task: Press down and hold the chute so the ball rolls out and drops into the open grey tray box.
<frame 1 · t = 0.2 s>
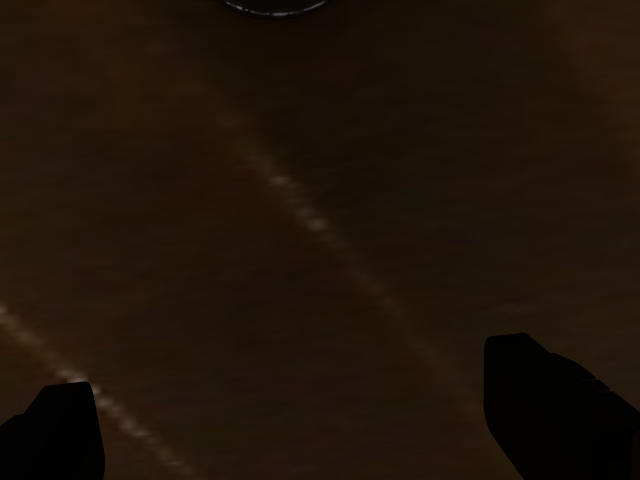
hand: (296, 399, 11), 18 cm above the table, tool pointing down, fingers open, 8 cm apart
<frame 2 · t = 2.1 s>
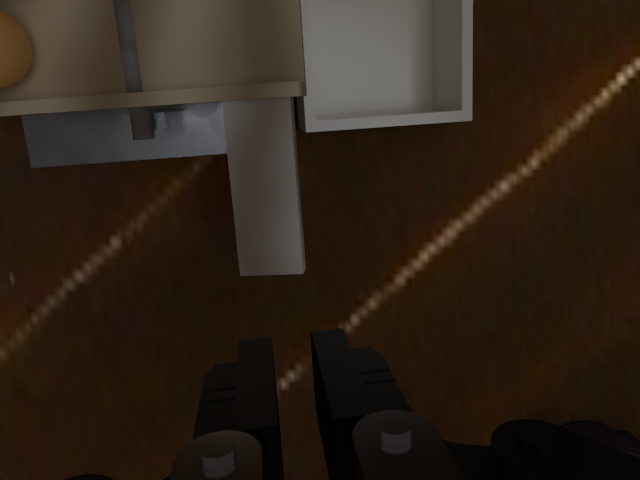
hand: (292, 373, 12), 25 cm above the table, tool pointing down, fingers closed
open grey tray box: (367, 47, 35), on the table
chute: (139, 114, 26), point 9 cm above the table, hinge at 12.0°, touching ball
stand: (160, 58, 33), on the table
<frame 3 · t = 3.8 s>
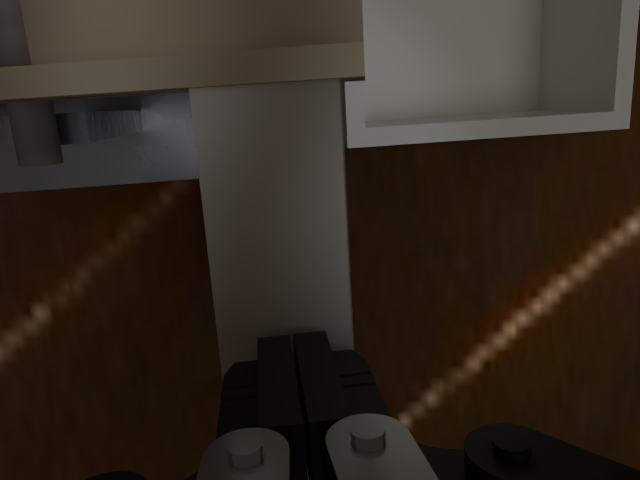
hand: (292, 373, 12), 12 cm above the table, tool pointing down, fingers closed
open grey tray box: (437, 9, 22), on the table
chute: (30, 116, 13), point 9 cm above the table, hinge at 11.0°, touching ball, gripper
stand: (106, 25, 21), on the table
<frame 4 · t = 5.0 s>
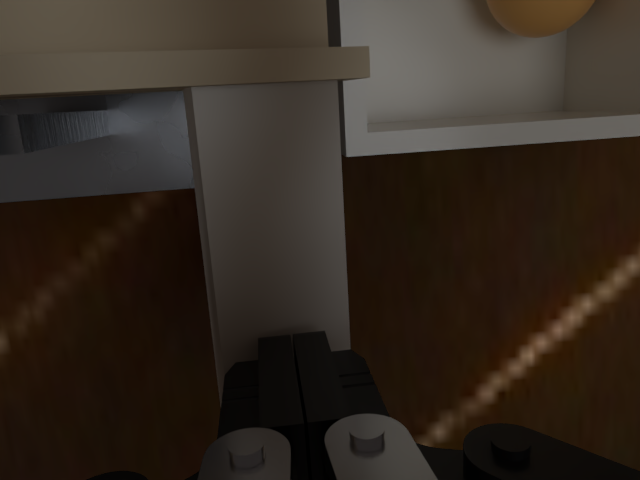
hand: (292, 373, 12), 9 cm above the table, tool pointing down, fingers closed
stand: (66, 11, 18), on the table
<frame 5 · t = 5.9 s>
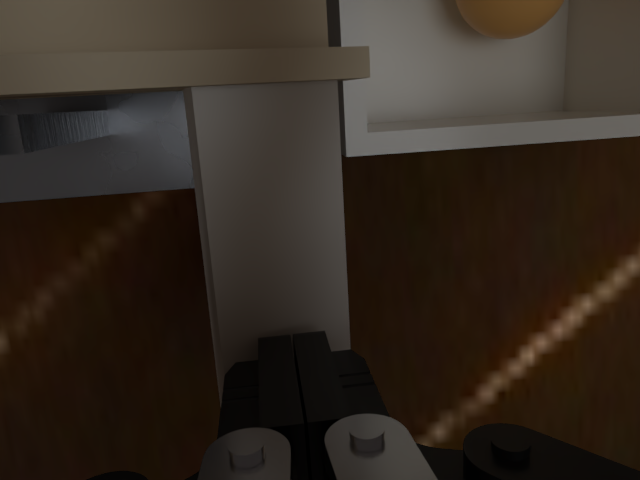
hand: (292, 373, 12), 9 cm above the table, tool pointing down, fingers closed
stand: (66, 11, 18), on the table
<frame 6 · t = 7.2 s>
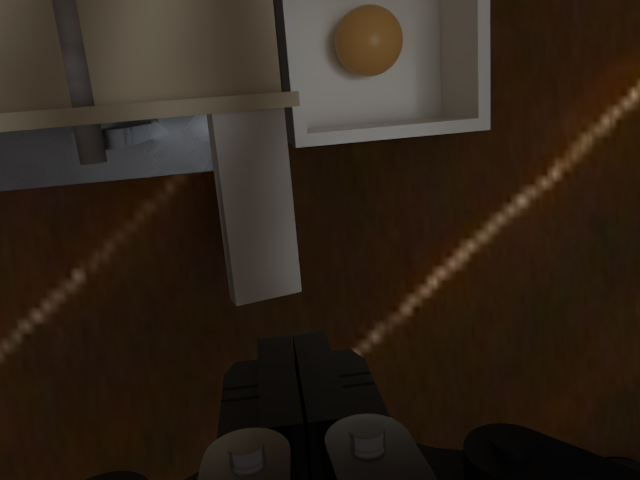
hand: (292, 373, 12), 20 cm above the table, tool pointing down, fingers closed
ball: (368, 41, 28), point 2 cm above the table, tilted 85°, touching open grey tray box
open grey tray box: (364, 45, 30), on the table
chute: (88, 133, 21), point 9 cm above the table, hinge at -16.0°
stand: (124, 63, 28), on the table
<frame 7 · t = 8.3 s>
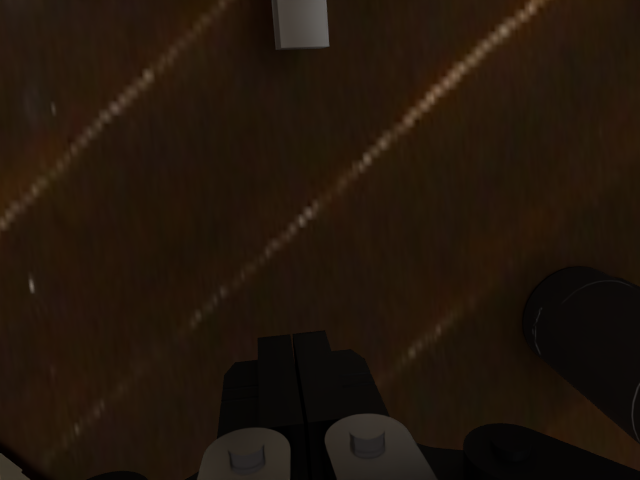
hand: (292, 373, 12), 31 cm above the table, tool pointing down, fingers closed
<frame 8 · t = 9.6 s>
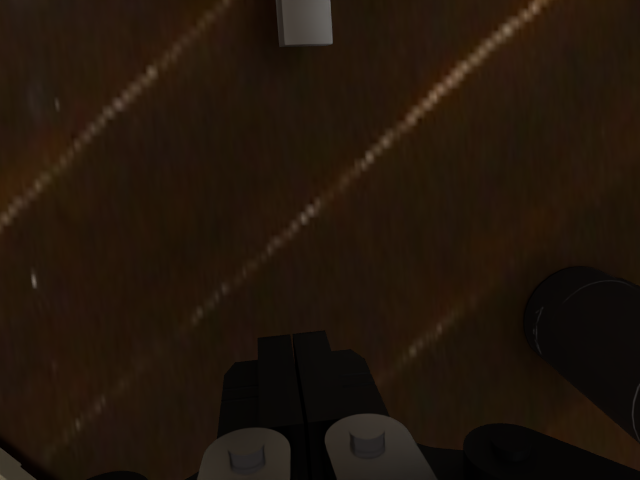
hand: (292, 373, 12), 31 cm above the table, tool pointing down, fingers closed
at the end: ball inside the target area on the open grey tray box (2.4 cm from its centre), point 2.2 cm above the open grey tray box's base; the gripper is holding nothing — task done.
